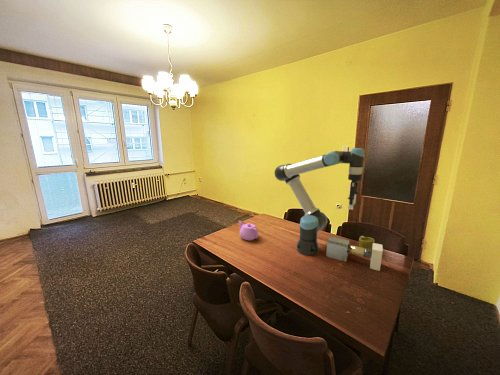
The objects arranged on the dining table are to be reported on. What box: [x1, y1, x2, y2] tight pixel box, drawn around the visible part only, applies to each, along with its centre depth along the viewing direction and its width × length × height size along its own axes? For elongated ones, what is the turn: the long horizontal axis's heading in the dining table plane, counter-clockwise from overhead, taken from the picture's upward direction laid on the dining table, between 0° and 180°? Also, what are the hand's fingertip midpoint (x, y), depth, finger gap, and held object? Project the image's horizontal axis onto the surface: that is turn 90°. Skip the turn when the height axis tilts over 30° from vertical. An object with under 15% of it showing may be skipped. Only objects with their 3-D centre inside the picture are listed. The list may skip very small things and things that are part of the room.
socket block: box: [369, 243, 384, 272], centre depth 124 cm, size 5×9×12 cm, turn 148°
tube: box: [347, 244, 372, 259], centre depth 129 cm, size 17×5×5 cm, turn 58°
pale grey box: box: [325, 235, 350, 263], centre depth 135 cm, size 12×9×11 cm
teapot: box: [238, 220, 259, 241], centre depth 163 cm, size 20×13×12 cm, turn 48°
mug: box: [358, 235, 376, 250], centre depth 144 cm, size 12×10×10 cm
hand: (351, 206), depth 133 cm, fingers open, 13 cm apart
